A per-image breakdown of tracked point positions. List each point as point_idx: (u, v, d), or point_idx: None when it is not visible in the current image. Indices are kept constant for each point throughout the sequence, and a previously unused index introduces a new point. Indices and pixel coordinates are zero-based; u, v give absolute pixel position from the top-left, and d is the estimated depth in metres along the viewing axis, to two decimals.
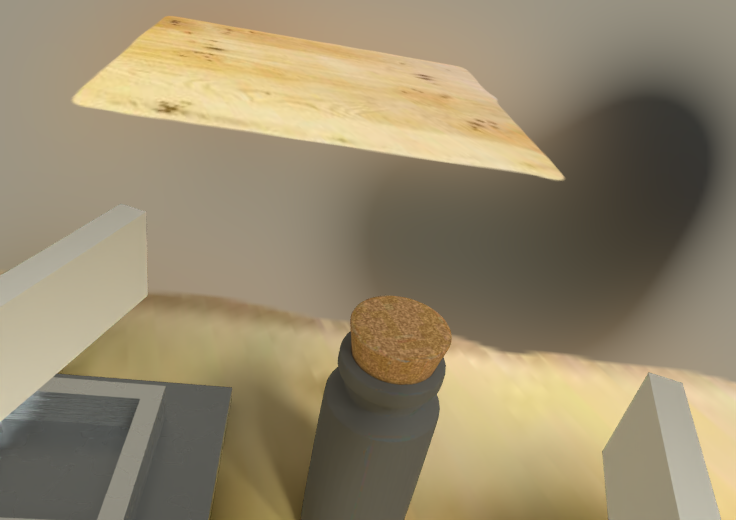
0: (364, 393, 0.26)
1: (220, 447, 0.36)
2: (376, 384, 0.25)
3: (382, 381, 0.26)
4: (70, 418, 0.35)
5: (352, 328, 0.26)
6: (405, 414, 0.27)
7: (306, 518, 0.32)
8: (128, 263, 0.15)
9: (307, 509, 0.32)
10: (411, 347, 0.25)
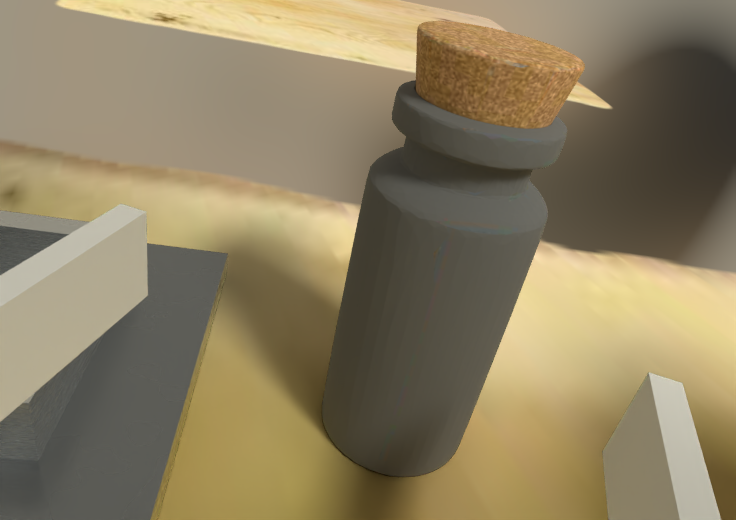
0: (441, 141, 0.15)
1: (208, 315, 0.25)
2: (463, 122, 0.15)
3: (472, 119, 0.15)
4: None
5: (422, 34, 0.15)
6: (502, 196, 0.17)
7: (331, 399, 0.22)
8: (128, 263, 0.15)
9: (333, 384, 0.21)
10: (526, 55, 0.15)
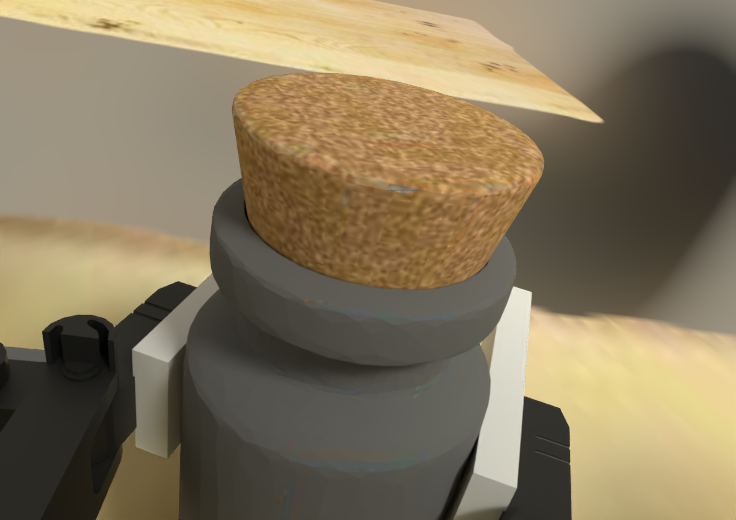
0: (269, 317, 0.08)
1: None
2: (306, 286, 0.08)
3: (326, 277, 0.08)
4: None
5: (234, 110, 0.08)
6: (401, 390, 0.09)
7: None
8: None
9: None
10: (423, 158, 0.08)
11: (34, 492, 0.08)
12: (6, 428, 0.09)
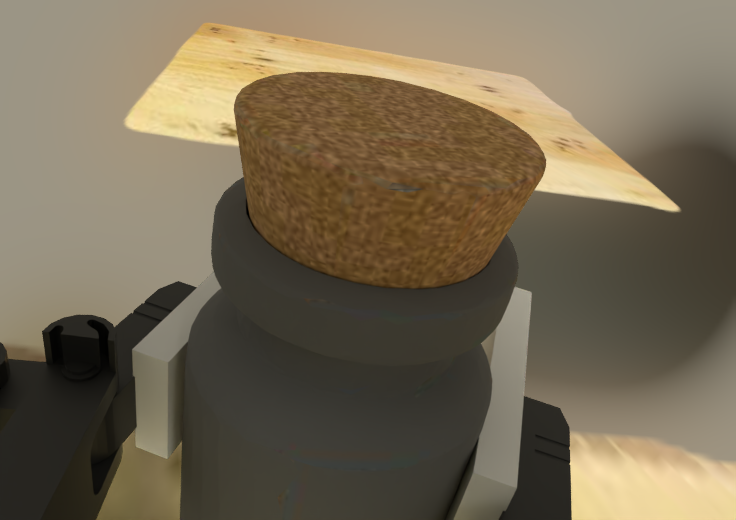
0: (271, 316, 0.08)
1: None
2: (308, 285, 0.08)
3: (328, 276, 0.08)
4: None
5: (236, 109, 0.08)
6: (403, 390, 0.09)
7: None
8: None
9: None
10: (425, 157, 0.08)
11: (34, 492, 0.08)
12: (7, 428, 0.09)
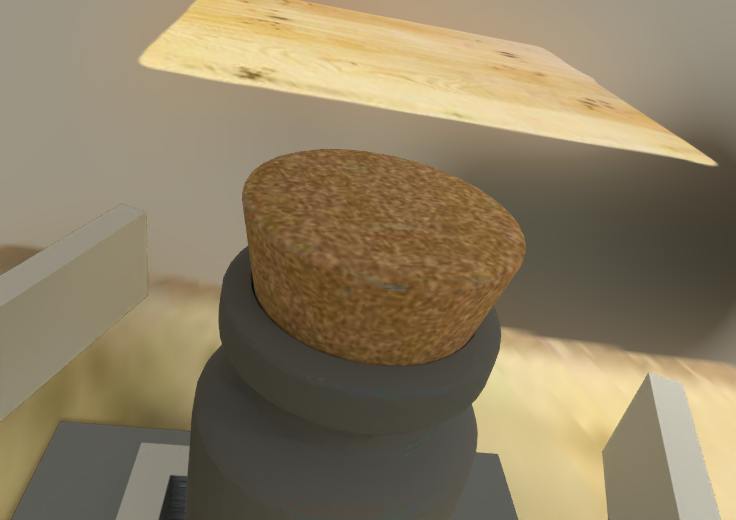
0: (274, 389, 0.09)
1: None
2: (308, 363, 0.09)
3: (327, 355, 0.09)
4: None
5: (244, 200, 0.09)
6: (394, 450, 0.10)
7: None
8: (128, 263, 0.15)
9: None
10: (415, 250, 0.08)
11: None
12: None
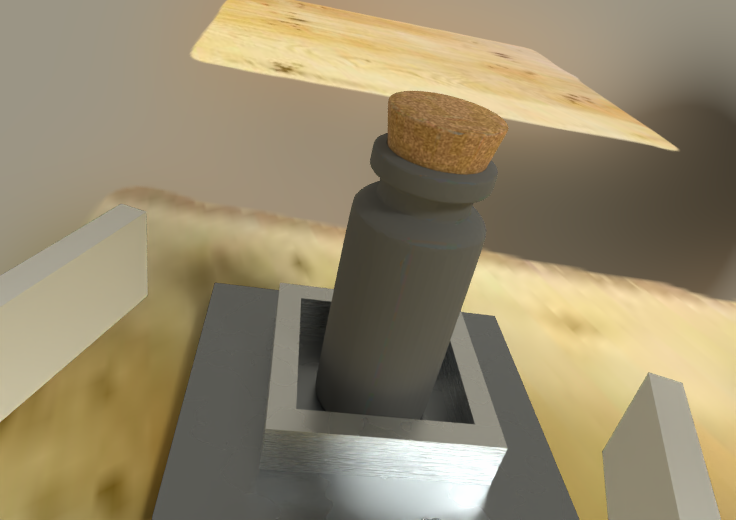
0: (405, 183, 0.21)
1: (516, 370, 0.34)
2: (420, 171, 0.21)
3: (427, 168, 0.21)
4: None
5: (391, 106, 0.22)
6: (450, 221, 0.23)
7: (324, 375, 0.28)
8: (128, 263, 0.15)
9: (325, 363, 0.27)
10: (464, 124, 0.21)
11: None
12: None
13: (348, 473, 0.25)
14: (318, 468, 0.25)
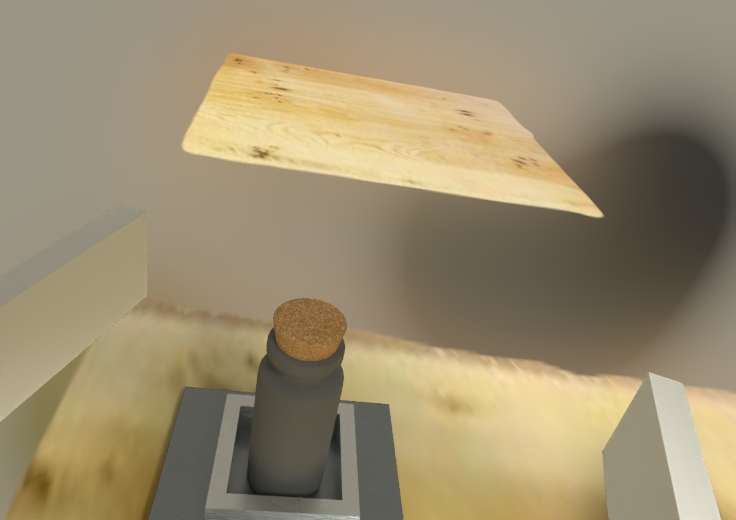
0: (281, 367, 0.36)
1: (393, 449, 0.49)
2: (290, 361, 0.36)
3: (294, 359, 0.36)
4: None
5: (273, 321, 0.36)
6: (313, 384, 0.38)
7: (249, 465, 0.43)
8: (128, 263, 0.15)
9: (250, 458, 0.42)
10: (314, 335, 0.36)
11: None
12: None
13: None
14: None
